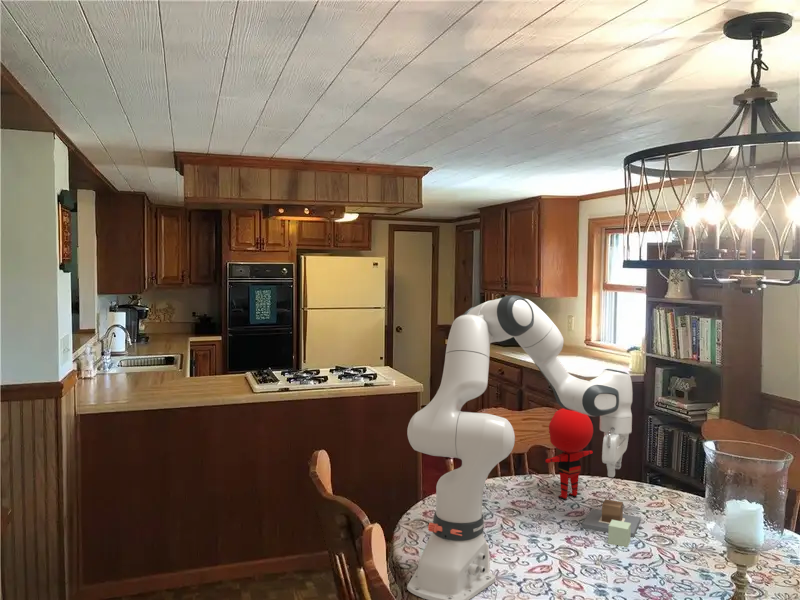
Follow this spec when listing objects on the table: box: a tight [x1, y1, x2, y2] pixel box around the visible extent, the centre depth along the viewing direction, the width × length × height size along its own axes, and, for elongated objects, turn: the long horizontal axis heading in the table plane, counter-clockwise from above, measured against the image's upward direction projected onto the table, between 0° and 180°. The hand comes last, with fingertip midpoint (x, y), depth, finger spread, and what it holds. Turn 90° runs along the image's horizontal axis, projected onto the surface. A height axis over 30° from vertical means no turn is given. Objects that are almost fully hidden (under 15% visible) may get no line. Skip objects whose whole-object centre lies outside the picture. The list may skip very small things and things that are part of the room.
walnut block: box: [601, 498, 624, 523], centre depth 182 cm, size 5×5×5 cm
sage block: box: [607, 520, 632, 548], centre depth 170 cm, size 5×5×5 cm
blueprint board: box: [581, 508, 642, 539], centre depth 182 cm, size 14×14×1 cm
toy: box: [545, 407, 594, 501], centre depth 204 cm, size 22×14×30 cm, turn 123°
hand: (614, 472), depth 181 cm, fingers open, 8 cm apart
